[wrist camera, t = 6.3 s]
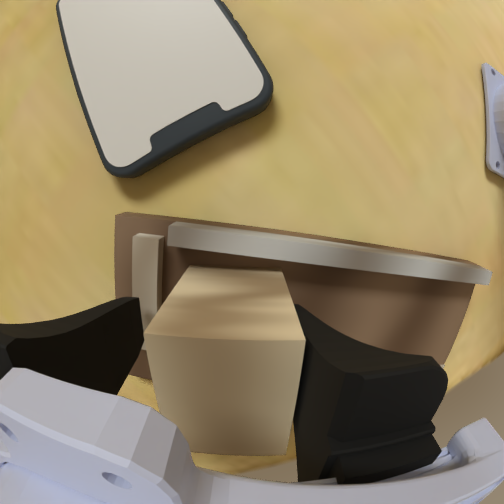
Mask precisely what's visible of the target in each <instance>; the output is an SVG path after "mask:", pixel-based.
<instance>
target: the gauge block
mask: <svg viewBox="0 0 504 504" xmlns="http://www.w3.org/2000/svg"><path fill="white" fill-rule="evenodd" d="M143 334H144V340H145V346H146V351H147V357H148V362H149V367H150V372H151V377H152V381H153V386H154V390H155V394H156V399H157V403H158V407H159V411H160V414H162V415H163V416H164V417H166V418H167V419H169V420H170V421H172V422H173V423H174V424H176V425H177V427H178V428H179V430H180V431H181V433H182V434H183V436H184V437H185V439H186V441H187V442H188V444H189V448H190V452H197V453H207V454H220V455H242V456H273V455H286V451H287V446H288V441H289V436H290V431H291V426H292V421H293V416H294V410H295V405H296V399H297V394H298V388H299V382H300V375H301V369H302V363H303V356H304V349H305V342H306V339H305V336H304V334H303V331H302V328H301V325H300V322H299V319H298V316H297V313H296V310H295V307H294V304H293V301H292V298H291V295H290V293H289V290H288V287H287V284H286V281H285V278H284V275H283V272H282V270H281V268H275V267H235V266H201V265H190V266H189V267H188V269H187V270H186V271H185V273H184V274H183V276H182V277H181V278H180V280H179V281H178V283H177V284H176V286H175V287H174V289H173V290H172V291H171V293H170V294H169V296H168V297H167V299H166V300H165V302H164V303H163V305H162V306H161V308H160V309H159V310H158V312H157V313H156V315H155V316H154V318H153V319H152V321H151V322H150V324H149V325H148V327H147V328H146V330H145V331H144V333H143Z"/></svg>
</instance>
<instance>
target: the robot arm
mask: <svg viewBox="0 0 504 504" xmlns="http://www.w3.org/2000/svg"><path fill="white" fill-rule="evenodd" d="M482 74H483V82H484V91H485V103H486V125H487V147H486V165H487V167H488V169H489V170H490V171H492V172H494V173H496V174H498V175H499V176H501V177H503V178H504V76H503V75H502V74H500V73H499V72H498V71H497V70H495V69H494V68H493V67H491V66H490V65H489V64H487V63H483V64H482ZM294 307H295V310H296V313H297V316H298V319H299V322H300V325H301V328H302V331H303V334H304V336H305V339H306V342H305V349H304V356H303V363H302V369H301V375H300V382H299V388H298V394H297V399H296V405H295V410H294V416H293V423H294V433H295V444H296V456H297V471H298V482H293V483H287V482H277V481H268V480H261V479H254V478H248V477H242V476H237V475H232V474H227V473H222V472H218V471H213V470H209V469H205V468H201V467H197V466H195V464H194V462H193V460H192V456H191V452H190V448H189V444H188V442H187V441H186V439H185V437H184V436H183V434H182V433H181V431H180V430H179V428H178V427H177V425H176V424H174V423H173V422H172V421H170V420H169V419H167V418H166V417H164V416H163V415H162V414H160V413H159V412H157V411H156V410H155V409H153V408H152V407H150V406H147V405H144V404H142V403H139V402H136V401H133V400H131V399H128V398H125V397H122V396H117V394H118V392H119V390H120V388H121V387H122V385H123V383H124V381H125V379H126V378H127V376H128V374H129V372H130V371H131V369H132V367H133V365H134V364H135V362H136V360H137V358H138V356H139V354H140V351H141V349H142V346H143V343H144V334H143V333H144V330H143V323H142V316H141V309H140V301H139V297H121V298H118V299H115V300H112V301H109V302H106V303H104V304H101V305H99V306H96V307H93V308H91V309H88V310H85V311H82V312H79V313H76V314H73V315H70V316H66V317H63V318H58V319H54V320H49V321H42V322H35V323H26V324H0V504H478V503H480V502H481V501H482V500H483V499H484V498H485V497H487V496H488V495H489V494H490V493H491V492H492V491H493V490H494V489H495V488H496V487H497V486H498V485H499V484H500V483H501V482H502V481H503V480H504V441H503V440H502V438H501V437H500V436H499V434H498V433H497V432H496V431H495V429H494V428H493V427H492V426H491V424H490V423H489V422H488V420H487V419H486V418H482V419H480V420H478V421H475V422H473V423H471V424H469V425H467V426H464V427H463V428H461V429H460V430H459V431H457V432H456V433H455V434H454V436H453V437H452V438H451V439H450V441H449V443H448V445H447V447H444V448H442V449H440V447H439V445H438V444H437V442H436V440H435V439H434V437H433V435H432V434H433V433H434V432H435V426H434V425H433V423H432V421H431V420H432V418H433V416H434V414H435V413H436V411H437V409H438V407H439V405H440V403H441V401H442V400H443V397H444V395H445V392H446V390H447V384H448V377H447V374H446V372H445V371H444V370H443V368H442V367H441V366H440V365H439V364H438V363H437V361H436V360H435V359H434V358H433V357H432V356H425V355H414V354H405V353H399V352H394V351H389V350H385V349H381V348H378V347H375V346H372V345H368V344H365V343H363V342H360V341H358V340H355V339H353V338H351V337H349V336H347V335H344V334H343V333H341V332H339V331H337V330H335V329H334V328H332V327H330V326H329V325H327V324H326V323H324V322H323V321H321V320H320V319H318V318H317V317H316V316H314V315H313V314H311V313H310V312H309V311H307V310H306V309H305V308H303V307H302V306H300V305H299V304H294Z"/></svg>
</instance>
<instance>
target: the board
mask: <svg viewBox="0 0 504 504" xmlns="http://www.w3.org/2000/svg"><path fill="white" fill-rule="evenodd" d="M114 261H115V296H116V299H118V298H121V297H139V301H140V309H141V316H142V323H143V330H144V331H145V330H146V328H147V327H148V325H149V324H150V322H151V321H152V319H153V318H154V316H155V315H156V313H157V312H158V310H159V309H160V308H161V306H162V305H163V303H164V302H165V300H166V299H167V297H168V296H169V294H170V293H171V291H172V290H173V289H174V287H175V286H176V284H177V283H178V281H179V280H180V278H181V277H182V276H183V274H184V273H185V271H186V270H187V269H188V267H189V266H190V265H201V266H235V267H275V268H281V270H282V272H283V275H284V278H285V281H286V284H287V287H288V290H289V293H290V295H291V298H292V301H293V304H299V305H300V306H302V307H303V308H305V309H306V310H307V311H309V312H310V313H311V314H313V315H314V316H316V317H317V318H318V319H320V320H321V321H323V322H324V323H326V324H327V325H329V326H330V327H332V328H334V329H335V330H337V331H339V332H341V333H343V334H344V335H347V336H349V337H351V338H353V339H355V340H358V341H360V342H363V343H365V344H368V345H372V346H375V347H378V348H381V349H385V350H389V351H394V352H399V353H405V354H414V355H425V356H432V357H433V358H434V359H435V360H436V361H437V363H438V364H439V365H440V366H441V367H442V368H444V366H445V365H444V364H445V361H446V359H447V357H448V355H449V353H450V351H451V348H452V346H453V344H454V341H455V339H456V337H457V334H458V332H459V329H460V327H461V324H462V321H463V319H464V316H465V313H466V311H467V308H468V305H469V302H470V299H471V296H472V293H473V289H474V286H475V284H482V285H489V283H490V279H491V276H492V271H490V270H487V269H485V268H483V267H481V266H479V265H477V264H475V263H472V262H470V261H467V260H462V259H457V258H451V257H446V256H440V255H435V254H429V253H423V252H418V251H412V250H406V249H400V248H394V247H388V246H382V245H376V244H370V243H363V242H357V241H351V240H344V239H338V238H331V237H324V236H317V235H311V234H304V233H297V232H289V231H282V230H275V229H267V228H260V227H252V226H245V225H237V224H229V223H221V222H212V221H204V220H195V219H187V218H178V217H169V216H160V215H150V214H140V213H131V212H124V213H121V214H117V215H115V249H114ZM129 375H133V376H137V377H141V378H145V379H150V380H152V377H151V372H150V367H149V362H148V357H147V351H146V346H145V340H144V343H143V346H142V349H141V351H140V354H139V356H138V358H137V360H136V362H135V364H134V365H133V367H132V369H131V371H130V372H129Z"/></svg>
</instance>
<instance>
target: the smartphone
mask: <svg viewBox="0 0 504 504" xmlns="http://www.w3.org/2000/svg"><path fill="white" fill-rule="evenodd" d="M56 11H57V16H58V22H59V26H60V31H61V36H62V40H63V44H64V48H65V52H66V56H67V60H68V64H69V67H70V71H71V74H72V78H73V81H74V85H75V88H76V91H77V95H78V98H79V101H80V104H81V107H82V110H83V112H84V115H85V118H86V121H87V124H88V127H89V129H90V132H91V135H92V137H93V140H94V143H95V145H96V148H97V150H98V153H99V155H100V158H101V160H102V163H103V165H104V167H105V169H106V170H107V171H108V172H109V173H111V174H112V175H114V176H116V177H121V178H134V177H138V176H140V175H142V174H144V173H145V172H147V171H149V170H150V169H152V168H154V167H155V166H157V165H159V164H161V163H162V162H164V161H166V160H167V159H169V158H171V157H173V156H175V155H176V154H178V153H180V152H182V151H184V150H185V149H187V148H189V147H191V146H193V145H195V144H197V143H199V142H201V141H203V140H204V139H206V138H208V137H210V136H212V135H214V134H216V133H218V132H221V131H223V130H225V129H227V128H229V127H231V126H233V125H235V124H237V123H240V122H242V121H244V120H246V119H249V118H251V117H253V116H255V115H257V114H259V113H261V112H262V111H263V110H264V109H265V108H266V107H267V106H268V105H269V103H270V101H271V97H272V93H273V82H272V79H271V76H270V74H269V73H268V71H267V69H266V68H265V66H264V64H263V63H262V61H261V59H260V58H259V56H258V55H257V53H256V51H255V50H254V48H253V47H252V45H251V44H250V42H249V40H248V39H247V35H246V34H245V32H244V31H243V29H242V28H241V26H240V25H239V23H238V22H237V21H236V20H234V18H233V15H232V13H231V12H230V11H229V9H228V8H227V6H226V5H225V4H224V2H222V1H221V0H58V2H57V4H56Z"/></svg>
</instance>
